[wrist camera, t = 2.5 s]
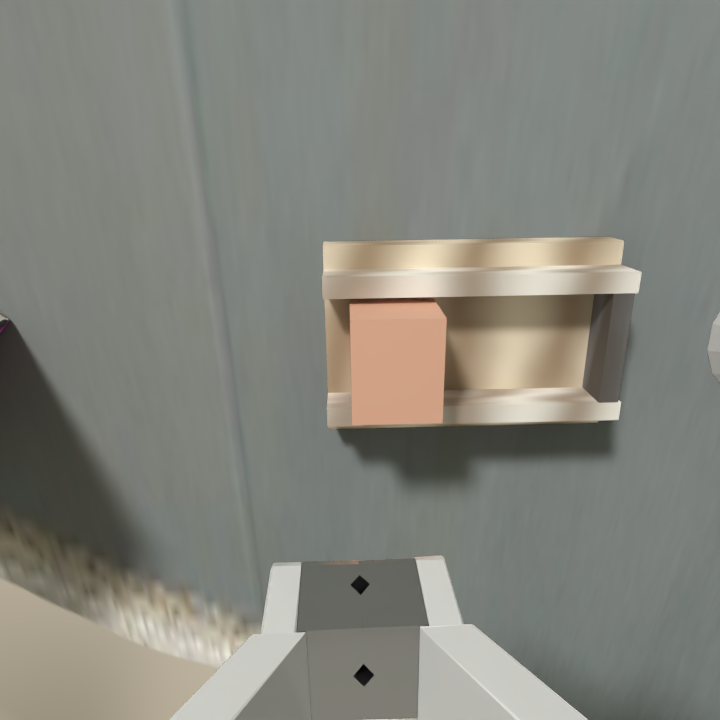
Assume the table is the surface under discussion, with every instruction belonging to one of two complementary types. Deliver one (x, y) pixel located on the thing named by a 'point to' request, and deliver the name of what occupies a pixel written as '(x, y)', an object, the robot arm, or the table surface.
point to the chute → (496, 323)
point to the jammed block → (397, 360)
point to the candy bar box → (3, 322)
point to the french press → (715, 348)
